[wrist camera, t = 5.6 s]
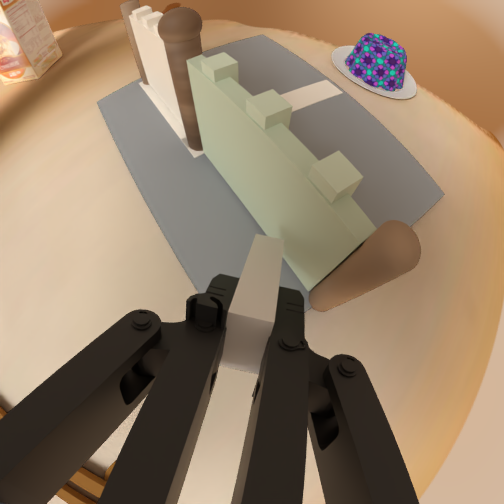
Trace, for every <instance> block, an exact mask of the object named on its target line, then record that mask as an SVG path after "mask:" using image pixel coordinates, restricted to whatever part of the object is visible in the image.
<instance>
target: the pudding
mask: <svg viewBox="0 0 504 504" xmlns="http://www.w3.org/2000/svg"><path fill="white" fill-rule="evenodd" d="M346 57H347V59H346ZM331 58H332V61H333V63H334V65H335V66H336V67H337V69H338V70H339V71H340V72H341V73H343V74H344V75H345V76H346V77H348V78H349V79H350V80H352V81H353V82H355V83H357V84H358V85H360V86H362V87H364V88H366V89H368V90H370V91H372V92H375V93H377V94H380V95H383V96H386V97H391V98H396V99H408V98H411V97H413V96H415V94H416V92H417V86H416V83H415V81H414V79H413V77H412V76H411V75H410V74H409V72H408V71H406V62H407V56H406V52H405V50H404V48H402V47H401V46H400V45H398V44H397V43H396V42H395V41H393V40H391V39H388V38H386V37H385V36H382V35H379V34H377V35H376V34H372V33H368V34H366V35H364V36H363V37H361V39H360V40H359V42H358V43H357V44H356V46H342V47H338V48H336V49H335V50H334V51H333V52H332V54H331ZM345 59H346V60H345ZM344 61H345V63H346V65H348V66H349V67H350V69H349V71H350V72H351V73H352V74H353V75H352V74H351V73H350V72H349V71H348V69H347V68H346V66H345V63H344ZM354 75H355V76H356V77H359V78H362V79H363V81H364V82H365V83H364V82H362V81H360V80H359V79H358V78H356V77H355V76H354ZM366 83H367V84H366ZM403 83H404V86H403ZM368 84H369V85H368ZM372 86H373V87H372ZM374 87H381V88H383V89H385V90H387V91H384V90H380V89H377V88H374ZM395 88H397V89H401V88H402V89H401V90H400V91H396V92H389V91H395Z"/></svg>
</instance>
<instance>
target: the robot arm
mask: <svg viewBox="0 0 504 504" xmlns="http://www.w3.org/2000/svg"><path fill="white" fill-rule="evenodd" d="M283 247H284V240H282V239H278V238H273V237H269V236H264V235H260V234H256V235H255V238H254V240H253V243H252V246H251V249H250V252H249V254H248V257H247V260H246V263H245V266H244V268H243V271H242V274H241V277H240V278H237V277H233V276H229V275H225V274H218V275H217V276H215V277H214V278H212V280H211V282H210V284H209V286H208V288H207V290H206V292H205V293H199V294H195V295H193V296H190V297H189V298H188V299H187V301H186V320H185V321H182V322H176V323H169V322H161V320H160V318H159V316H158V315H157V314H155V313H154V312H152V311H149V310H141V309H140V310H135V311H132V312H130V313H128V314H126V315H125V316H124V317H123V318H121V319H120V320H119V321H118V322H116V323H115V324H114V325H113V326H111V327H110V328H109V329H108V330H106V331H105V332H104V333H103V334H101V335H100V336H99V337H98V338H96V339H95V340H94V341H93V342H91V343H90V344H89V345H88V346H86V347H85V348H84V349H83V350H82V351H80V352H79V353H78V354H77V355H75V356H74V357H73V358H72V359H71V360H69V361H68V362H67V363H66V364H64V365H63V366H62V367H61V368H60V369H58V370H57V371H56V372H55V373H54V374H52V375H51V376H50V377H49V378H48V379H47V380H45V381H44V382H43V383H42V384H41V385H39V386H38V387H37V388H36V389H35V390H34V391H32V392H31V393H30V394H29V395H28V396H27V397H25V398H24V399H23V400H22V401H21V402H20V403H18V404H17V405H16V406H15V407H14V408H13V409H12V410H10V411H9V412H8V413H7V414H6V415H5V416H4V417H3V418H1V419H0V504H47V503H48V502H49V501H50V500H51V499H52V497H53V496H54V495H55V494H56V493H57V492H58V491H59V490H60V489H61V488H62V487H63V486H64V485H65V484H66V483H67V482H68V481H69V480H70V479H71V477H72V476H73V475H74V474H75V473H76V472H77V471H78V470H79V469H80V468H81V467H82V466H83V465H84V464H85V462H86V461H87V460H88V459H89V458H90V457H91V456H92V455H93V454H94V453H95V452H96V451H97V450H98V448H99V447H100V446H101V445H102V444H103V443H104V442H105V441H106V440H107V439H108V438H109V436H110V435H111V434H112V433H113V432H114V431H115V430H116V429H117V428H118V427H119V425H120V424H121V423H122V422H123V421H124V420H125V419H126V418H127V417H128V416H129V414H130V413H131V412H132V411H133V410H134V409H135V408H136V407H137V406H138V404H139V403H140V402H141V401H142V400H143V399H144V398H145V397H146V396H147V397H146V399H145V401H144V403H143V405H142V407H141V409H140V412H139V414H138V416H137V418H136V420H135V422H134V424H133V426H132V428H131V430H130V432H129V435H128V437H127V439H126V441H125V443H124V445H123V447H122V449H121V452H120V454H119V456H118V458H117V460H116V462H115V465H114V467H113V469H112V471H111V473H110V476H109V478H108V480H107V482H106V485H105V487H104V489H103V491H102V494H101V496H100V498H99V500H98V502H97V504H177V502H178V499H179V496H180V493H181V490H182V487H183V483H184V480H185V477H186V474H187V471H188V468H189V464H190V461H191V458H192V455H193V452H194V448H195V445H196V442H197V439H198V436H199V432H200V429H201V426H202V423H203V420H204V417H205V413H206V410H207V407H208V404H209V400H210V397H211V394H212V391H213V388H214V384H215V381H216V378H217V373H218V367H219V364H220V366H224V367H228V368H232V369H236V370H240V371H245V372H249V373H254V374H259V376H258V379H257V382H256V386H255V389H254V392H253V395H252V397H253V401H252V407H251V412H250V417H249V422H248V427H247V432H246V437H245V442H244V446H243V451H242V456H241V461H240V466H239V470H238V475H237V479H236V484H235V488H234V493H233V497H232V502H231V504H302V500H303V489H304V477H305V463H306V447H307V426H308V430H309V434H310V438H311V442H312V446H313V451H314V455H315V459H316V463H317V468H318V472H319V476H320V480H321V485H322V489H323V493H324V498H325V502H326V504H419V502H418V499H417V496H416V493H415V490H414V487H413V484H412V482H411V479H410V476H409V473H408V471H407V468H406V465H405V463H404V460H403V458H402V455H401V452H400V450H399V447H398V445H397V442H396V440H395V437H394V435H393V432H392V430H391V428H390V425H389V423H388V420H387V418H386V416H385V413H384V411H383V409H382V406H381V404H380V402H379V399H378V397H377V395H376V392H375V390H374V388H373V386H372V383H371V381H370V379H369V377H368V375H367V372H366V370H365V368H364V366H363V365H362V363H361V362H360V361H359V360H357V359H356V358H355V357H352V356H350V355H345V354H340V355H335V356H334V357H332V358H331V359H330V360H329V359H327V358H324V357H322V356H320V355H318V354H316V353H314V352H313V351H312V350H311V349H310V348H309V346H308V342H307V341H306V340H305V337H304V297H303V295H302V294H301V292H300V290H295V289H290V288H286V287H281V286H279V282H280V274H281V265H282V256H283ZM147 394H148V395H147Z"/></svg>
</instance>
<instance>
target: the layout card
mask: <svg viewBox="0 0 504 504" xmlns="http://www.w3.org/2000/svg"><path fill="white" fill-rule="evenodd" d="M223 52H225V53H226V54H228V55H229V56H230V57H232V58H233V59H235V60H236V61H237V62H238V78H239V85H240V86H242V87H243V88H244V89H245V90H246V91H247V92H249V93H250V94H251V95H252V96H255V95H258V94H261V93H263V92H266V91H269V90H271V89H273V90H274V91H276V92H277V93H278V94H279V95H280V96H282V97H283V98H284V99H285V100H286V101H287V102H288V103H290V104H291V105H292V106H293V107H292V113H291V118H290V124H289V129H288V130H289V131H291V132H292V133H293V134H294V135H295V136H296V137H297V138H298V139H299V140H300V142H301V143H302V144H303V145H304V146H305V147H306V148H307V149H308V150H309V151H310V152H311V153H312V154H313V155H314V156H315V157H316V158H317V159H318V160H319V161H320V160H322V159H324V158H326V157H328V156H329V155H331V154H333V153H335V152H337V151H340V152H341V153H342V154H343V155H344V156H345V157H346V158H347V159H348V160H349V162H350V163H351V164H352V165H353V166H354V167H355V168H356V169H357V170H358V171H359V172H360V174H361V175H362V176H363V179H362V180H361V182H360V183H359V185H358V186H357V188H356V190H355V191H354V193H353V194H352V196H351V197H352V199H353V200H354V201H355V202H356V203H357V205H358V206H359V207H360V208H361V209H362V211H363V212H364V213H365V214H366V216H367V217H368V218H369V219H370V221H371V222H372V223H373V224H374V226H375V227H376V228H377V229H378V228H379V227H380V226H381V225H382V224H383V223H384V222H386V221H389V220H398V221H401V222H403V223H405V224H407V225H408V226H409V227H411V226H412V225H413V224H414V223H415V222H416V221H417V220H418V219H419V218H421V217H422V216H423V215H424V214H425V213H426V212H427V211H428V210H429V209H430V208H431V207H432V206H433V205H434V204H435V203H436V202H437V201H438V200H439V199H441V198H442V197H443V196H444V195H445V194H444V193H443V191H442V190H441V189H440V188H439V186H438V185H437V184H436V183H435V181H434V180H433V179H432V178H431V176H430V175H429V174H428V173H427V172H426V171H425V169H424V168H423V167H422V166H421V165H420V164H419V162H418V161H417V160H416V159H415V158H414V157H413V156H412V155H411V154H410V152H409V151H408V150H407V149H406V148H405V147H404V146H403V145H402V144H401V143H400V142H399V141H398V140H397V139H396V138H395V137H394V136H393V135H392V134H391V133H390V132H389V131H388V130H387V129H386V128H385V127H384V126H383V125H382V124H381V123H380V122H379V121H378V120H377V119H376V118H375V117H374V116H373V115H371V114H370V113H369V112H368V111H367V110H366V109H365V108H364V107H363V106H361V105H360V104H359V103H358V102H357V101H356V100H355V99H353V98H352V97H351V96H350V95H349V94H347V93H346V92H345V91H344V90H342V89H341V88H340V87H339V86H338V85H336V84H335V83H334V82H332V81H331V80H330V79H329V78H327V77H326V76H325V75H323V74H322V73H321V72H319V71H318V70H316V69H315V68H314V67H312V66H311V65H310V64H308V63H307V62H305V61H304V60H302V59H301V58H299V57H298V56H296V55H295V54H293V53H292V52H290V51H289V50H287V49H286V48H284V47H283V46H281V45H279V44H278V43H276V42H274V41H273V40H271V39H269V38H268V37H266V36H264V35H259V36H255V37H251V38H247V39H243V40H240V41H236V42H233V43H229V44H226V45H223V46H219V47H216V48H213V49H210V50H207V51H204V52H202V55H203V56H205V57H206V58H208V57H211V56H214V55H217V54H220V53H223ZM97 104H98V106H99V109H100V111H101V113H102V115H103V117H104V120H105V122H106V124H107V126H108V128H109V130H110V133H111V135H112V137H113V139H114V141H115V143H116V145H117V147H118V149H119V151H120V153H121V155H122V157H123V159H124V161H125V163H126V165H127V167H128V169H129V171H130V173H131V175H132V177H133V179H134V181H135V183H136V185H137V187H138V189H139V191H140V193H141V194H142V196H143V198H144V200H145V202H146V204H147V206H148V207H149V209H150V211H151V213H152V215H153V217H154V218H155V220H156V222H157V224H158V225H159V227H160V229H161V231H162V233H163V234H164V236H165V238H166V240H167V241H168V243H169V245H170V246H171V248H172V250H173V252H174V253H175V255H176V257H177V258H178V260H179V262H180V263H181V265H182V267H183V268H184V270H185V272H186V273H187V275H188V277H189V278H190V280H191V281H192V283H193V285H194V286H195V288H196V290H197V291H198V293H205V292H206V290H207V288H208V286H209V284H210V282H211V280H212V278H214V277H215V276H217V275H218V274H225V275H229V276H233V277H237V278H240V277H241V274H242V271H243V268H244V266H245V263H246V260H247V257H248V254H249V252H250V249H251V246H252V243H253V240H254V238H255V235H256V234H260V235H264V236H267V235H266V234H265V232H264V231H263V230H262V228H261V227H260V226H259V224H258V223H257V222H256V220H255V219H254V218H253V216H252V215H251V214H250V212H249V211H248V210H247V208H246V207H245V206H244V204H243V203H242V202H241V200H240V199H239V198H238V196H237V195H236V194H235V193H234V191H233V190H232V189H231V187H230V186H229V185H228V183H227V182H226V181H225V179H224V178H223V177H222V176H221V174H220V173H219V172H218V170H217V169H216V168H215V166H214V165H213V164H212V163H211V161H210V160H209V159H208V157H207V156H206V155H205V154H204V151H195V150H192V149H191V148H190V147H189V145H188V141H187V137H186V134H185V130H184V127H183V126H182V124H181V123H180V122H179V120H178V119H177V118H176V117H175V115H174V114H173V113H172V112H171V110H170V109H169V108H168V107H167V105H166V104H165V103H164V102H163V100H162V99H161V98H160V97H159V95H158V94H157V93H156V92H155V91H154V89H153V88H152V87H151V86H150V85H145V84H143V81H142V78H140V79H138V80H136V81H134V82H132V83H130V84H128V85H126V86H124V87H122V88H121V89H119V90H117V91H115V92H113V93H112V94H110V95H108V96H106V97H105V98H103V99H101V100H99V101H98V102H97ZM279 286H281V287H286V288H290V289H295V290H300V292H301V294H302V295H303V297H304V313H305V312H306V311H307V310H309V309H310V308H312V306H311V305H310V303H309V293H310V291H311V290H312V289H313V288H312V289H311V290H310V291H307V289H306V288H305V287H304V285H303V284H302V283H301V281H300V280H299V278H298V277H297V276H296V274H295V273H294V272H293V270H292V269H291V267H290V266H289V265H288V263H287V262H286V261H285V259H284V258H283V257H282V265H281V274H280V282H279Z"/></svg>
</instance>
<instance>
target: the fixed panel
mask: <svg viewBox="0 0 504 504" xmlns="http://www.w3.org/2000/svg"><path fill="white" fill-rule="evenodd" d="M120 9H121V13H122V16H123V20H124V23H125V27H126V30H127V33H128V37H129V40H130V43H131V47H132V50H133V53H134V56H135V59H136V63H137V66H138V69H139V72H140V75H141V78H142V81H143V84H145V85H150V86H151V87H152V88H153V89H154V91H155V92H156V93H157V94H158V95H159V97H160V98H161V99H162V100H163V102H164V103H165V104H166V105H167V107H168V108H169V109H170V110H171V112H172V113H173V114H174V115H175V117H176V118H177V119H178V120H179V122H180V123H181V124H182V126H183V122H182V118H181V114H180V110H179V106H178V102H177V98H176V94H175V89H174V85H173V81H172V77H171V73H170V68H169V64H168V59H167V55H166V51H165V46H164V42H163V40H162V39H161V38H160V36H159V34H158V23H159V20H160V19H161V17H162V16H163V15H164V14H162V13H160V12H158V11H156V12H154V13H152V8H151V7H149V6H143V7H141V8H140V5H139V0H129V1H126V2H124V3H122V4H121V5H120ZM183 127H184V126H183Z"/></svg>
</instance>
